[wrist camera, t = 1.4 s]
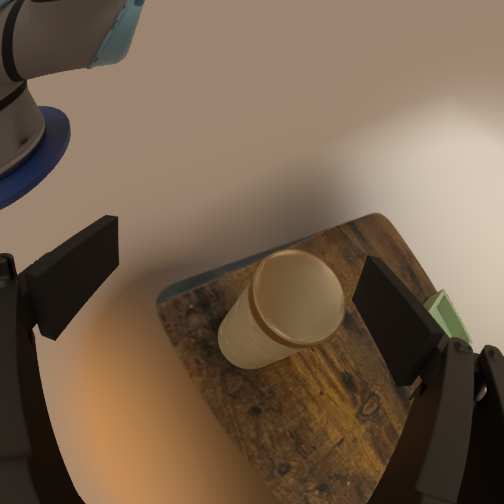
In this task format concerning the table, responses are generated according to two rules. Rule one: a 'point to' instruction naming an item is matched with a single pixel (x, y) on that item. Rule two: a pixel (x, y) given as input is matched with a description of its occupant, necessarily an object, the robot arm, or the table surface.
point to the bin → (447, 316)
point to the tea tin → (282, 310)
